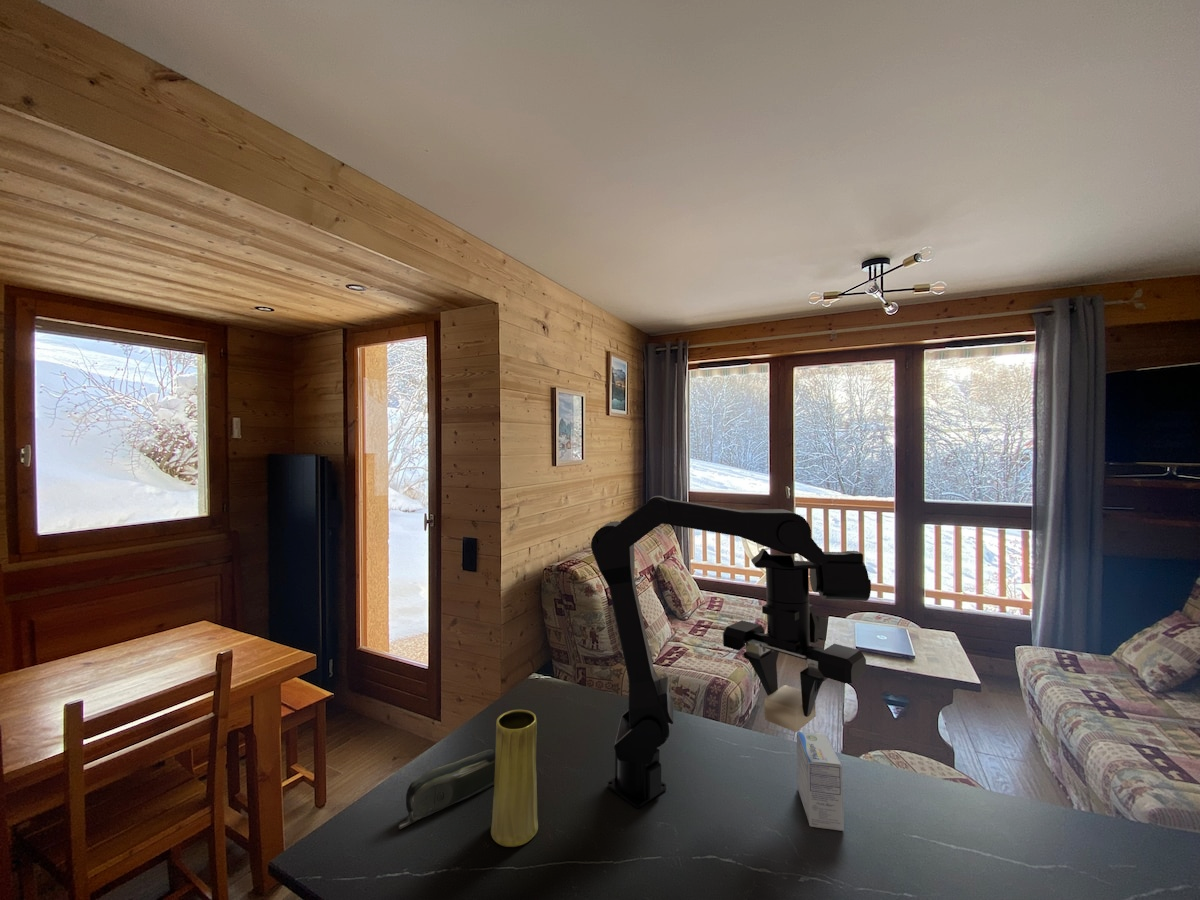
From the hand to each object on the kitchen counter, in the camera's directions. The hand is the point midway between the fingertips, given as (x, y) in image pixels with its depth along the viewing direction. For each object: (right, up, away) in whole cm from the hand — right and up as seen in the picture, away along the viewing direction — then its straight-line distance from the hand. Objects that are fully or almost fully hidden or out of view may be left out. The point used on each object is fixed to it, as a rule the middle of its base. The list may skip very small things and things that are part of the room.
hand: (790, 709), depth 68 cm
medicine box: (+4, -14, -1) cm, 14 cm away
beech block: (0, -1, 0) cm, 1 cm away
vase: (-38, -13, -5) cm, 41 cm away
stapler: (-48, -13, 0) cm, 50 cm away
